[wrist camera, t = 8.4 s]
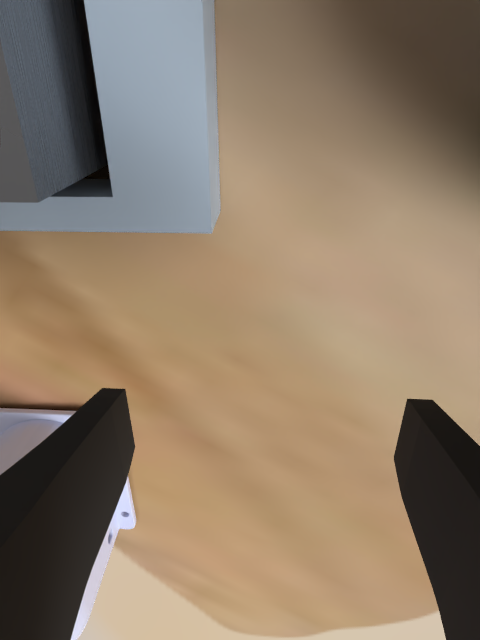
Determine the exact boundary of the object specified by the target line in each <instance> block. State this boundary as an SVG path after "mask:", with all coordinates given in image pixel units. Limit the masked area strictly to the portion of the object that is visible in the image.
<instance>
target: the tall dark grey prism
mask: <svg viewBox="0 0 480 640" xmlns="http://www.w3.org/2000/svg"><path fill="white" fill-rule="evenodd" d="M106 165H108V160H107V153H106V146H105V140H104V133H103V126H102V119H101V113H100V106H99V99H98V92H97V86H96V79H95V72H94V65H93V59H92V52H91V45H90V38H89V32H88V25H87V18H86V11H85V4H84V0H0V202H14V203H39V202H41V201H42V200H44V199H46V198H48V197H50V196H51V195H53V194H55V193H57V192H59V191H61V190H62V189H64V188H66V187H68V186H70V185H71V184H73V183H75V182H77V181H79V180H81V179H82V178H84V177H86V176H88V175H90V174H92V173H93V172H95V171H97V170H99V169H101V168H102V167H104V166H106Z"/></svg>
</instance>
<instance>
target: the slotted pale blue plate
mask: <svg viewBox="0 0 480 640" xmlns="http://www.w3.org/2000/svg"><path fill="white" fill-rule="evenodd" d="M84 4H85V11H86V18H87V25H88V32H89V38H90V45H91V52H92V59H93V65H94V72H95V79H96V86H97V92H98V99H99V106H100V113H101V119H102V126H103V133H104V140H105V146H106V153H107V160H108V167H109V173H110V179H81V180H79V181H77V182H75V183H73V184H71V185H70V186H68V187H66V188H64V189H62V190H61V191H59V192H57V193H55V194H53V195H51V196H50V197H48V198H46V199H44V200H42V201H41V202H39V203H14V202H0V231H67V232H144V233H212V231H213V229H214V226H215V224H216V221H217V218H218V216H219V213H220V178H219V144H218V110H217V77H216V43H215V10H214V0H84Z"/></svg>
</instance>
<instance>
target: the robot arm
mask: <svg viewBox="0 0 480 640" xmlns="http://www.w3.org/2000/svg"><path fill="white" fill-rule="evenodd" d="M134 449H135V444H134V438H133V432H132V426H131V420H130V414H129V408H128V403H127V397H126V391H125V389H110V388H102V389H101V390H100V391H99V392H97V393H96V394H95V395H94V396H93V397H92V398H91V399H90V400H89V401H87V402H86V403H85V404H84V405H83V406H82V407H81V408H80V409H79V410H77V411H63V410H37V409H11V408H0V640H77V639H78V637H79V636H80V635H81V633H82V631H83V630H84V628H85V626H86V624H87V622H88V619H89V617H90V614H91V611H92V608H93V605H94V602H95V599H96V596H97V593H98V590H99V587H100V584H101V581H102V578H103V575H104V572H105V569H106V566H107V563H108V560H109V557H110V554H111V551H112V548H113V545H114V542H115V540H116V537H117V534H118V531H119V529H132V528H134V527H135V524H136V516H135V511H134V505H133V500H132V495H131V489H130V484H129V479H128V473H129V469H130V465H131V461H132V457H133V453H134ZM394 462H395V467H396V472H397V477H398V482H399V486H400V491H401V496H402V499H403V502H404V505H405V508H406V511H407V514H408V517H409V520H410V523H411V526H412V529H413V532H414V535H415V538H416V541H417V544H418V547H419V549H420V552H421V555H422V558H423V561H424V564H425V567H426V570H427V573H428V576H429V579H430V582H431V584H432V587H433V591H434V594H435V597H436V601H437V604H438V608H439V611H440V615H441V620H442V624H443V628H444V632H445V636H446V640H480V446H479V445H478V444H477V443H476V442H475V441H474V440H473V439H472V438H471V437H470V436H469V435H468V434H467V433H466V432H465V431H464V430H463V429H462V428H461V427H460V426H459V425H458V424H457V423H456V422H454V421H453V420H452V419H451V418H450V417H449V416H448V415H447V414H446V413H445V412H444V411H443V410H442V409H441V408H440V407H439V406H438V405H437V404H436V403H435V402H434V401H433V400H423V399H407V402H406V407H405V411H404V415H403V420H402V424H401V428H400V433H399V437H398V442H397V446H396V450H395V455H394Z"/></svg>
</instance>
